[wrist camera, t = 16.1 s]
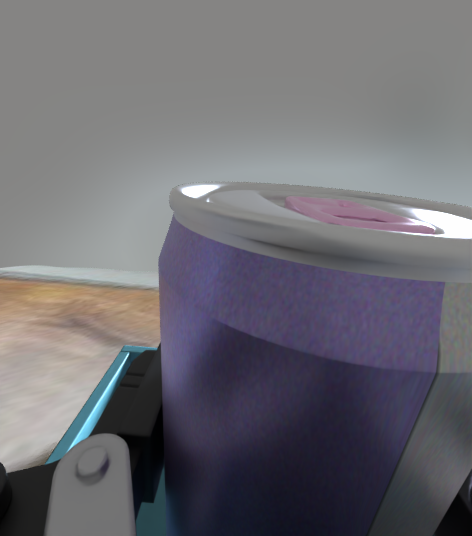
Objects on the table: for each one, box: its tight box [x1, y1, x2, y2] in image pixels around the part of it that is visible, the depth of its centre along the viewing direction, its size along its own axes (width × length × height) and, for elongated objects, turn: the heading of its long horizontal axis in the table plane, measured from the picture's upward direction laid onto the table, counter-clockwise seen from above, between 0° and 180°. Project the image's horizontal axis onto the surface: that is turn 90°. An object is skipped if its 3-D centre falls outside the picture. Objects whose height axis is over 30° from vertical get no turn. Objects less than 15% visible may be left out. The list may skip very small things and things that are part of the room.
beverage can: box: [158, 182, 472, 536], centre depth 7 cm, size 6×6×15 cm
